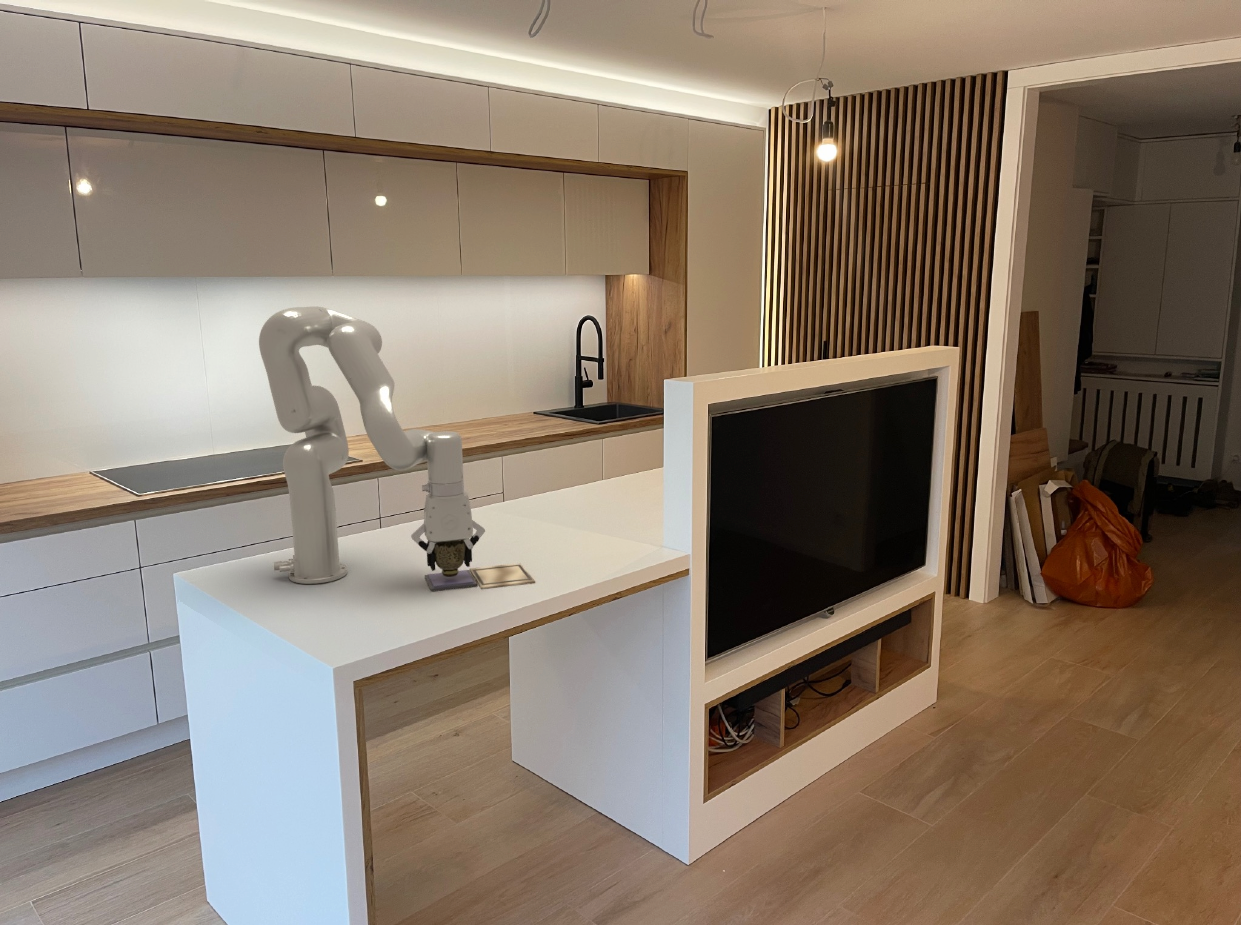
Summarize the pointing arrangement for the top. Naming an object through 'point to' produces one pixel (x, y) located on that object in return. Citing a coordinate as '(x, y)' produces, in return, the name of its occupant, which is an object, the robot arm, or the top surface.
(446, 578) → the ink pad
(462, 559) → the cup
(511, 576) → the board
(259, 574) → the top surface
